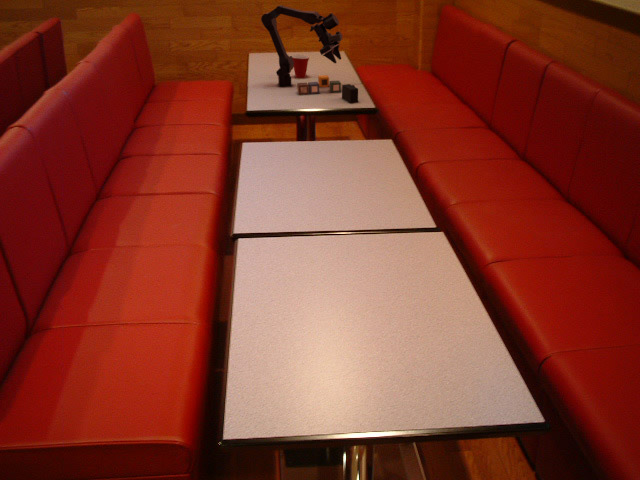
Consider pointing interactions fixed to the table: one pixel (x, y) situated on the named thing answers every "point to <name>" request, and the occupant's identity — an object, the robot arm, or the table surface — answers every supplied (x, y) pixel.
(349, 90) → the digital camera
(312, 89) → the slate block
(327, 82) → the mustard block
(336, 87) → the green block
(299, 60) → the plastic cup
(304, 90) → the walnut block
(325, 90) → the table surface
